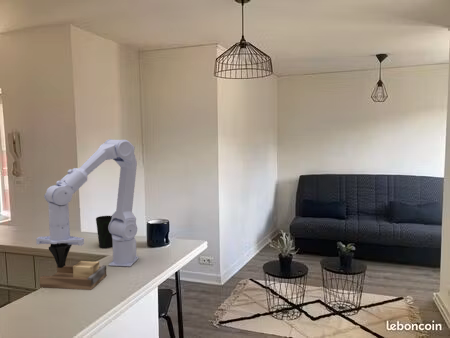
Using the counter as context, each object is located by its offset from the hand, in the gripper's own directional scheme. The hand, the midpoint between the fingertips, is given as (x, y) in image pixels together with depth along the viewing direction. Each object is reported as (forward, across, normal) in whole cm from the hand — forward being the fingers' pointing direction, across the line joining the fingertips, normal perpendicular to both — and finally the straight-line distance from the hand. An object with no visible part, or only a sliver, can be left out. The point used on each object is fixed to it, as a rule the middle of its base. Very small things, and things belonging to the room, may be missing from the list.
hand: (61, 266), depth 116 cm
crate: (+3, +8, 0) cm, 9 cm away
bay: (+4, +4, 0) cm, 6 cm away
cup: (+5, -1, +36) cm, 36 cm away
